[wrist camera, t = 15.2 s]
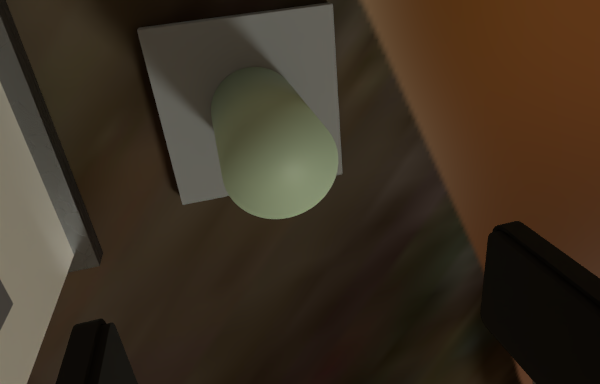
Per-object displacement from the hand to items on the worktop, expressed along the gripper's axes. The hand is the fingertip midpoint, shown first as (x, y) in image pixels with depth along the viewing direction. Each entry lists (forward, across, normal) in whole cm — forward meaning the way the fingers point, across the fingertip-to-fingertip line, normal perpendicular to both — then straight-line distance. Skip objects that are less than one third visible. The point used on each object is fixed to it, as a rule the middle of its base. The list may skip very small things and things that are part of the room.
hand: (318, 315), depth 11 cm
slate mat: (+15, -1, -1) cm, 15 cm away
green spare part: (+14, -1, -1) cm, 14 cm away
